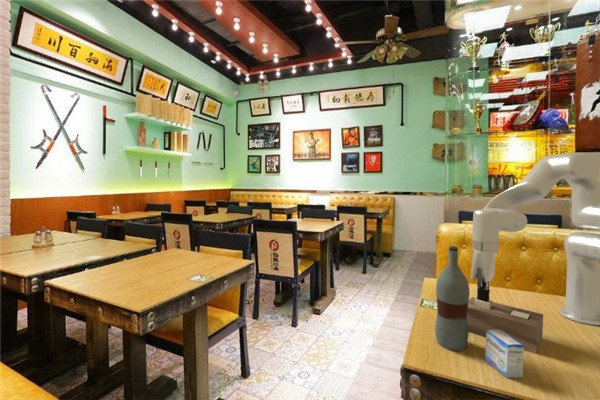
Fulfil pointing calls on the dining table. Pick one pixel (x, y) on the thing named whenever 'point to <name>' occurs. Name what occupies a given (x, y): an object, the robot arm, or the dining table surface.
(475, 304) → the ash peg
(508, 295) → the dining table surface
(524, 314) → the pale grey block
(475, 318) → the block
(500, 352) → the medicine box
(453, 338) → the bottle
